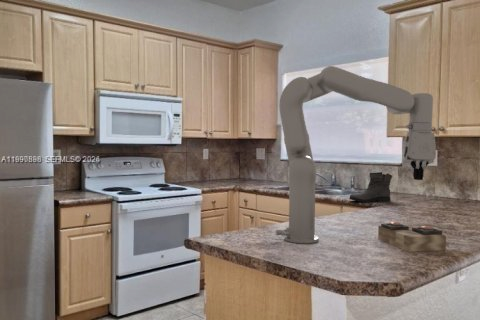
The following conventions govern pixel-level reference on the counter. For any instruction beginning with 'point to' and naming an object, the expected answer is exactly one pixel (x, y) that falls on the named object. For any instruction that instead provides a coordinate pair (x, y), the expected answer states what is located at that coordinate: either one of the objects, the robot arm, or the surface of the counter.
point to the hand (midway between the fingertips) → (418, 179)
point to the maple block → (412, 237)
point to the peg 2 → (426, 228)
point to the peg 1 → (394, 224)
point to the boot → (375, 189)
